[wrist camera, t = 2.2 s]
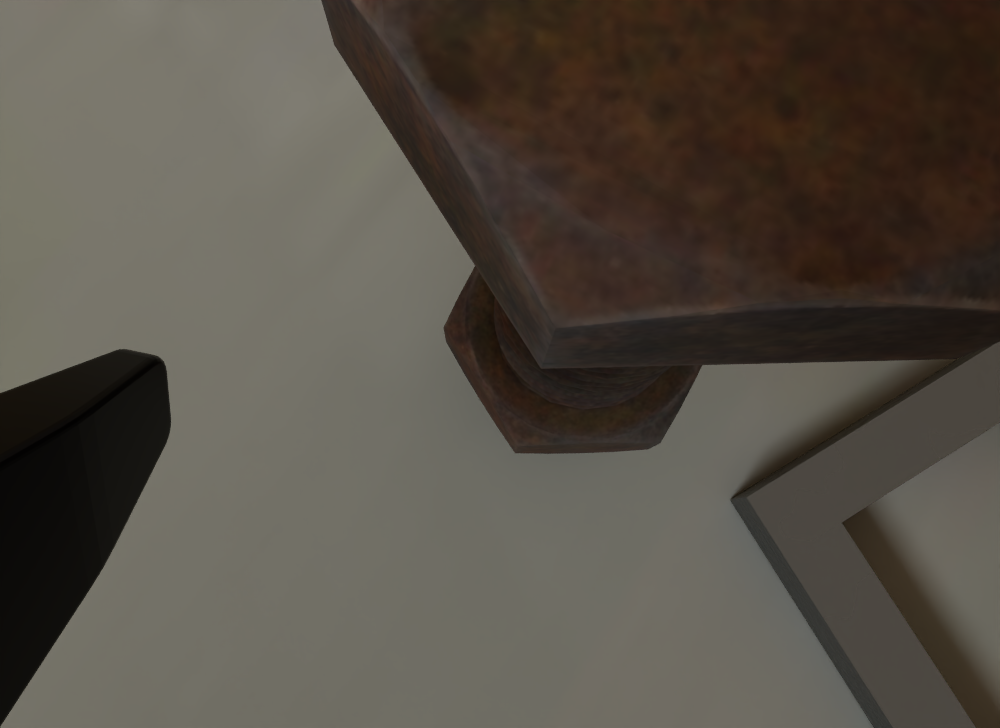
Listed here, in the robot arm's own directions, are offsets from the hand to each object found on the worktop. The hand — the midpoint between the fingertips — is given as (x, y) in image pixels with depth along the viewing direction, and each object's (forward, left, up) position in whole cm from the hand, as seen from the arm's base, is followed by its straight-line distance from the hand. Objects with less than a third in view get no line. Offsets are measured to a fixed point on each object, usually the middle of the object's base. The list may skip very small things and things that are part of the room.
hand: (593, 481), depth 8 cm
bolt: (+2, -2, -11) cm, 11 cm away
